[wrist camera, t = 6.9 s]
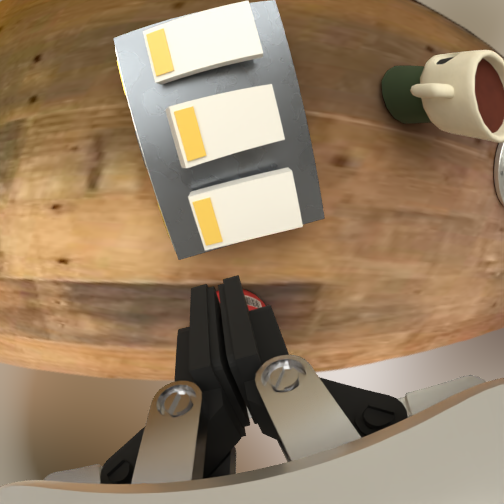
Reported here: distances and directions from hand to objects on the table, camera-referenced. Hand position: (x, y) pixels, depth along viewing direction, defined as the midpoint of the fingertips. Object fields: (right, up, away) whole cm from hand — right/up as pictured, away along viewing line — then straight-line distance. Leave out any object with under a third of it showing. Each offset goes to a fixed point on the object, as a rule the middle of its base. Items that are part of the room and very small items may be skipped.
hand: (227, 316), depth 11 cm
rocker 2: (-1, +11, +8) cm, 14 cm away
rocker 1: (-2, +16, +6) cm, 17 cm away
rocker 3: (0, +5, +11) cm, 12 cm away
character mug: (+16, +18, +15) cm, 29 cm away
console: (-2, +13, +14) cm, 19 cm away
